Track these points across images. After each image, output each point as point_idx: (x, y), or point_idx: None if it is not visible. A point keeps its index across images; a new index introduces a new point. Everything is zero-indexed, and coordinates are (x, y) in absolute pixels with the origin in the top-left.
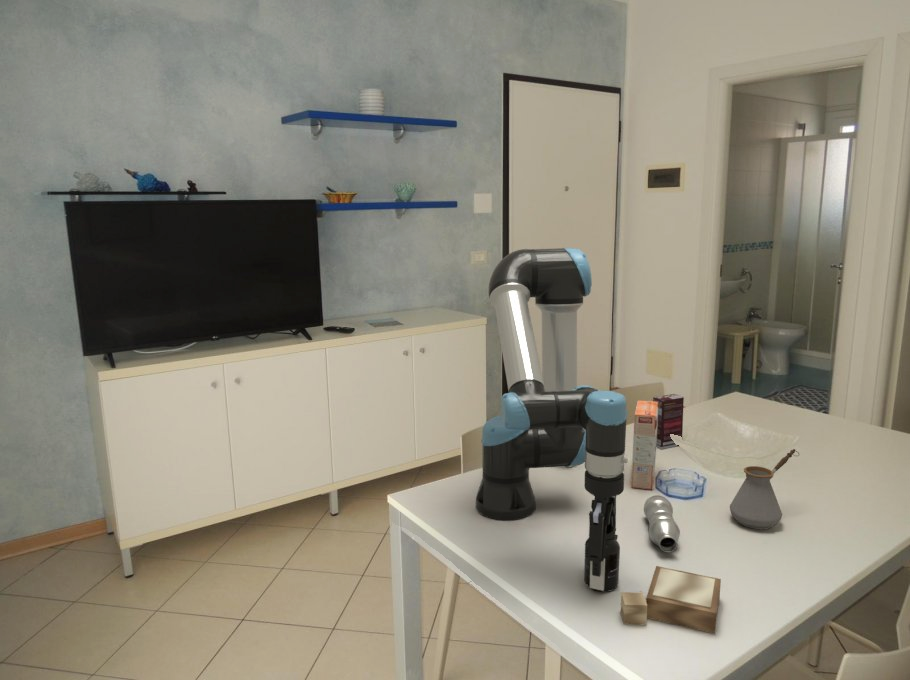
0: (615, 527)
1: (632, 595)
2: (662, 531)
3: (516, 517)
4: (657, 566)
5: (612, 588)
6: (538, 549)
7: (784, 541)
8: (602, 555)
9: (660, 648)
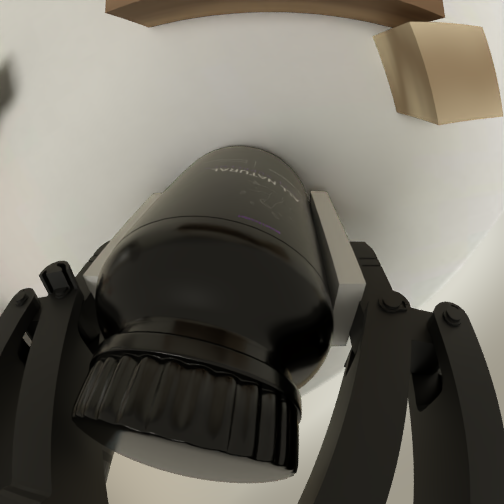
0: (12, 305)
1: (448, 75)
2: None
3: None
4: (108, 6)
5: (281, 160)
6: None
7: None
8: (409, 326)
9: (500, 24)
